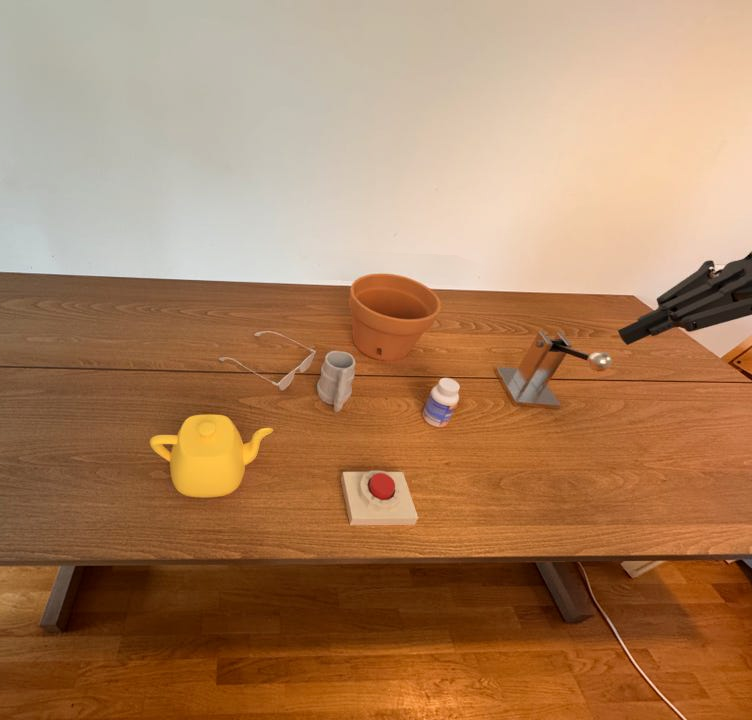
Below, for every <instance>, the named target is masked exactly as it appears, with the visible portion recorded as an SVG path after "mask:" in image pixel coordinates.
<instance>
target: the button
mask: <svg viewBox="0 0 752 720" xmlns="http://www.w3.org/2000/svg"><path fill="white" fill-rule="evenodd" d="M394 489H395V483H394V480H393V479H392V478H391V477H390V476H388V475H387V474H384V473H377V474H375V475H373V476H372V478H371V481H370V484H369V490H370V492H371V493H372V495H373V496H375V497H376V498H378V499H388V498H390V497H391V496H392V494H393V492H394Z"/></svg>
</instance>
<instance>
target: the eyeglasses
mask: <svg viewBox="0 0 752 720" xmlns="http://www.w3.org/2000/svg"><path fill="white" fill-rule="evenodd" d="M267 333H272V334H276V335H279V336H281V337H284V338H286V339H287V340H290V341H292V342H293V343H296V344H298V345H300V346H301V347H304V348H306V349H307V350H309V351H310V352H311V354H309V355H308V356H307V357H306V358H305V359H304V360H303V361H302V362H301V363H300V364H299V365H298V366H297V367H295V368H294V369H293V370H291V371H290V372H288V373H287V374H286V375H285V376H283V378H281V380H280V381H278V382H276V381H271V380H270V379H268V378H266V377H264V376H262V375H260V374H259V373H256V372H255V371H253V370H252V369H250V368H248V367H247V366H245V365H243V364H242V363H241V362H239V361H238V360H237V359H235V358H231V357H228V356H227V357H225V356H221V357H219V358H218V360H219V361H221V362H222V363H223V362H225V361H226V360H231V361H234V362H235V363H237V364H239V365H240V366H242V367H244V368H245V369H247V370H249V371H250V372H252V373H253V374H255V375H258V376H259V377H261V378H263V379H265V380H267V381H268V382H270V383H271V385H274V386H276V387H278V389H279V390H280V391H284V390H286V389H287V388H288V387H289V386H290V384H291V383H292V381H293V380H294V377H295V375H296V371H298V370H299V372H300V373H301V374H302V373H305V371H307V370H308V369H309V368H310V366H311V364H312V362H313V361H314V357H315V355H316V353H317V351H316V350H314V349H312V348H308V347H307V346H305V345H303V344H301V343H299V342H297V341H295V340H293V339H291V338H289V337H287V336H284V335H283V334H281V333H278V332H275V331H269V330H267V331H266V330H265V331H263V330H262V331H258V332H255V333H253V336H254V337H260V336H261V335H263V334H267Z"/></svg>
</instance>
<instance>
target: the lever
mask: <svg viewBox="0 0 752 720" xmlns="http://www.w3.org/2000/svg"><path fill="white" fill-rule="evenodd" d="M548 338H549V337H548ZM549 339H550V341H551V342H552V343H553V345H552V346H551V348H550V350H549V351H550V352H559V351H561V352H564V353H567V354H566V355H569V356H573V357H575V358H578V359H581V360H584V361H586V364H587V367H588V368H590V369H591V370H592V371H595V372H604V371H607V370H608V369H610V367H611V366H612V364H613V358H612V356H611V355H610V354H609V353H607V352H605V351H601V350H599V351H594V352H591V353H586V352H583V351H581V350H577V349H575V348H572V347H571V348H568V347H565V346H562V345H561V343H562V341H559V340H556V339H554V338H549Z"/></svg>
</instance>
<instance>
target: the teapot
mask: <svg viewBox="0 0 752 720" xmlns="http://www.w3.org/2000/svg"><path fill="white" fill-rule="evenodd" d="M273 432H274V429H273V428H271V427H264V428H260V429H258V430H256V431H255V432H254V433H253V434H252V437H251V440H250V441H249V442H245V443H243V438H242V436H241V434H240V431H239V429H237V427H236V424H235V423H233V421H232V420H231V419H230V418H229V417H228V416H226V415H223V414H195V415H191V416H188V417H187V418H186V419H185V420H184V421H183V422H182V425H180V428H179V430H178V432H177V434H158V435H153V436H152V437H151V438H150V440H149V445H150V447H151V449H152V450H153V451H154V452H155V453H156V454H157V455H158V456H160V457H162V458H163V459H164V460H166V461H167V462H169V471H170V478H171V481H172V484H173V486H174V488H175V490H176V491H178V492H179V493H180V494H182V495H183V496H187V497H192V498H203V499H204V498H205V499H207V498H218V497H219V498H220V497H223V496H227V495H230V494H232V493H233V492H235V491H236V490H237V489H238V488H239V486H240V485H241V483H242V481H243V478H244V475H245V471H246V466H247V465H249V464H251V463H252V462H254V460H255V459H256V458H257V456H258V454H259V450H260V446H261V442H262V440H263V438H265V437H266V436H268V435H270V434H271V433H273ZM164 445H172V447H171V450H168V449H167V448H166V447H165V446H164Z"/></svg>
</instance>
